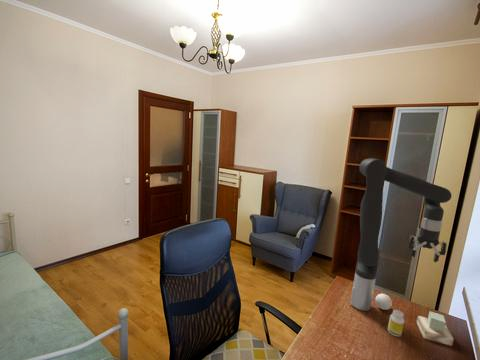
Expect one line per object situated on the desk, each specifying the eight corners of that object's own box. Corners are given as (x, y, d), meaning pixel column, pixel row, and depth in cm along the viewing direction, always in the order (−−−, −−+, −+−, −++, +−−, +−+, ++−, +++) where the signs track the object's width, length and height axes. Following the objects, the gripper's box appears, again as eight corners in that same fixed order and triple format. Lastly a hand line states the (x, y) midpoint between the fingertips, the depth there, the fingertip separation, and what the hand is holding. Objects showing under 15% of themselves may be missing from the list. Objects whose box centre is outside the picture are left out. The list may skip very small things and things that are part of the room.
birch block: (423, 339, 107) (425, 331, 106) (416, 322, 116) (417, 315, 115) (451, 346, 104) (453, 338, 103) (441, 329, 113) (443, 321, 112)
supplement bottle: (403, 338, 106) (407, 318, 104) (390, 335, 107) (393, 316, 105) (398, 328, 112) (402, 309, 110) (385, 326, 113) (389, 307, 111)
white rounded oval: (373, 301, 129) (375, 288, 128) (389, 306, 126) (392, 293, 125) (374, 313, 121) (377, 300, 119) (392, 318, 117) (394, 305, 116)
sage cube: (429, 327, 108) (431, 317, 107) (427, 320, 112) (429, 310, 111) (443, 332, 106) (445, 322, 105) (441, 325, 110) (443, 315, 109)
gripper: (413, 226, 116) (407, 258, 119) (452, 233, 109) (444, 266, 113) (411, 222, 122) (405, 252, 125) (447, 228, 116) (440, 259, 119)
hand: (423, 259), depth 119 cm, fingers open, 8 cm apart
